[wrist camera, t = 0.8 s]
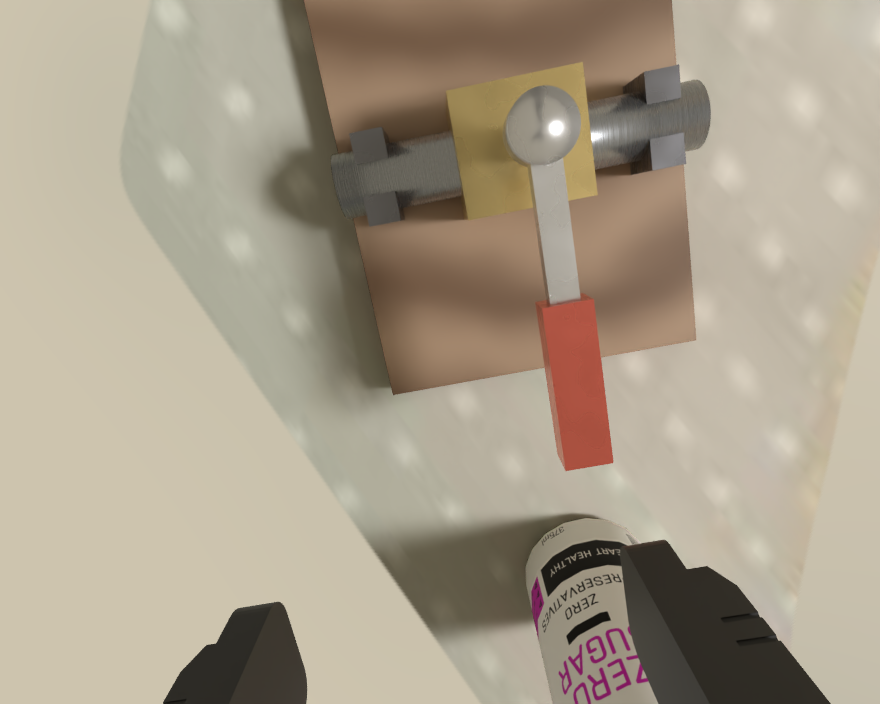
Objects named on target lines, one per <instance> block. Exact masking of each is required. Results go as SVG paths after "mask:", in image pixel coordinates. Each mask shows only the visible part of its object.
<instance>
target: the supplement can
mask: <svg viewBox="0 0 880 704" xmlns="http://www.w3.org/2000/svg"><path fill="white" fill-rule="evenodd" d="M635 544H641V542H640V541H639V540H638V539H637V538H636V537H635V536H634V535H633V534H632V533H631V532H630V531H629V530H628V529H627V528H624V527H622V526H620V525H618V524H615V523H613V522H611V521H609V520H602V519H591V518H584V519H579V520H575V521H570V522H566V523H563V524H561V525H560V526H558V527H556V528H554V529H553V530H551V531H549V532H548V533H546V534H545V535H544V536H543V537H542V538H541V539H540V541H539V542H538V543H537V544H536V545H535V546H534V548H533V549H532V551H531V553H530V556H529V559H528V562H527V564H526V567H525V568H526V586H527V591H528V595H529V600H530V604H531V609H532V613H533V618H534V622H535V626H536V631H537V635H538V640H539V644H540V649H541V653H542V658H543V662H544V667H545V671H546V676H547V680H548V685H549V689H550V693H551V698H552V702H553V704H658V702H657V700H656V697H655V695H654V693H653V690H652V688H651V686H650V684H649V681H648V679H647V677H646V675H645V672H644V670H643V668H642V665H641V663H640V661H639V658H638V655H637V653H636V650H635V646H634V643H633V640H632V636H631V632H630V627H629V622H628V615H627V607H626V599H625V591H624V583H623V575H622V567H621V559H620V549H621V547H623V546H629V545H635Z"/></svg>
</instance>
